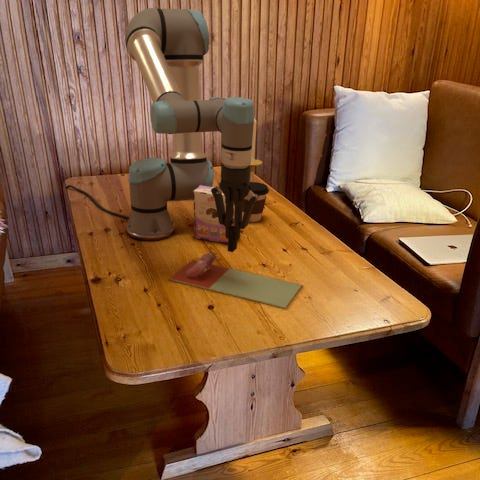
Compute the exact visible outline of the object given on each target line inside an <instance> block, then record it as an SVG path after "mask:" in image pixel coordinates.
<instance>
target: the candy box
mask: <svg viewBox="0 0 480 480" xmlns="http://www.w3.org/2000/svg"><path fill="white" fill-rule="evenodd" d="M214 187H215V186H212V187H209V186H203V185H200V186H199V187H198V188H196V189H195V190H194V191H193V199H192V200H193V201H192V202H193V221H194V238H195V239H199V240H204V241H210V242H215V243H221V244H227V245H228V239H227V238H226V237H225V232H226V228H225V226H224V225H221V224H219V220H218V214H217V209H216V204H215V199H214V196H213V194H212V192H211V189H212V188H214ZM222 196H223V201H224V207H225V212H226V203H225V196H224V194H223V192H222ZM234 212H235V205H234V209H233V223H234ZM232 226H234V224H233V225H232Z"/></svg>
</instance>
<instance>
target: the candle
mask: <svg viewBox="0 0 480 480" xmlns="http://www.w3.org/2000/svg"><path fill="white" fill-rule="evenodd" d="M254 117H255V118H254V125H253V138H252V156H251V164H250V167H251V173H250V182H255V167H258V166H262V165H263V164H264V162H263V160H261V159H256V158H255V157H256V155H255V153H256V139H257V138H256V137H257V136H256V135H257V120H256V115H255V116H254Z"/></svg>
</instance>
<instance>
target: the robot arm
mask: <svg viewBox="0 0 480 480" xmlns="http://www.w3.org/2000/svg"><path fill="white" fill-rule="evenodd" d="M124 44H125V48H126V50H127V52H128V55H129V57H130V58H131V59H132V60H133V61H134V62H136V65H137V68H138V69H139V72H140V75H141V77H142V79H143V82H144V84H145V86H146V88H147V91H148V93H149V96H150V98H151V100H152V103H151V105H150V108H149V117H150V123H151V128H152V130H153V131H154V132H155V133H156V134H158V135H159V134H161V135H162V134H165V135H173V146H174V151H173V153H172V154H171V155H170V156H169V161H170V162H166V159H164V158H161V157H147V158H142V159H139V160H136V161H134V162H133V163H131V164H130V166H129V167H128V184H129V185H128V186H129V198H130V212H129V216H128V215H124V214H121V213H118V212H113V211H111V210H108V209H107V208H105V207H103V206H101V205H100V204H99V202H98V201H96V199H95V198H94V197H93V196H92V195H91V194H90V193H88V192H86V191H84V190H83V189H80V188H77V187H76V186H74V185H72V184H67V185H66V186H65V189H68V188H72V189H74V190H76V191H78V192H80V193H82V194H83V195H85V196H87V197H88V198H89V199H91V201H92V202H93V203H94V204H95V205H96V206H97V207H98V208H99V209H101V210H102V211H104V212H106V213H108V214H111V215H114V216H117V217H120V218H124V219H128V220H127V223H126V234H127V235H128V236H129V237H130V238H131V239H134V240H139V241H149V242H151V241H160V240H161V241H162V240H165V239H167V238H169V237H171V236H172V235H173V234H174V220H172V219H171V216H170V213H169V210H168V201H178V200H179V201H180V199H181V200H183V199H184V200H185V199H186V200H187V199H188V200H192V199H191V198H193V191H194V190H195V189H196V188H198V187H199V186H200V185H203V186H209V187H214V188H212V189H211V192H212V194H213V196H214V199H215V204H216V209H217V214H218V220H219V224H221V225H224V226H225V228H226V232H225V237H226V238H227V239H228V244H227V252H229V253H234V252H235V251H236V250H237V248H238V241H239V240H240V239H241V230H245V228H247V227H248V225H249V223H250V222H249V219H250V216H251V213H252V210H253V207H254V204H255V202H256V200H257V199H258V198H259V195H258V194H254V193H253V192H252V191H251V187H250V173H251V167H250V164H251V156H252V138H253V125H254V118H255V119H256V115H255V103H254V101H253V100H252V99H250V98H246V97H239V96H236V97H235V96H234V97H233V96H231V97H226V98H225V97H220V96H213V97H211V98H209V99H203V100H201V99H200V77H199V76H200V75H199V67H200V66H201V65H202V63H203V62H204V56H205V55H207V54H208V53H209V49H210V44H211V43H210V30H209V26H208V23H207V20H206V19H205V17H204V15H203V14H202V12H200V11H199V10H197V9H188V8H156V7H149V8H144V9H142V10H140V11H139V12H137V13H136V14H135V15H133V17H131V19H130V21H129V22H128V24H127V26H126V30H125V32H124ZM254 116H255V117H254ZM213 132H219V133H221V159H220V160H221V163H222V164H221V166H220V182H219V184H218V185H215V186H214V179H215V178H214V177H215V174H214V166H213V163H212V162H211V161H210V160H209V159H207V154H206V153H204V151H203V149H202V133H213ZM222 192H223V194H224V196H225V203H226V212H225V207H224V201H223V196H222ZM247 195H248V203H247V205H246V209H245V212H244V215H243V217H242V208H243V202H244V198H245V197H246V196H247ZM234 205H235V212H234V223H233V209H234ZM233 224H234V226H232V225H233Z"/></svg>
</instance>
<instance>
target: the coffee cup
mask: <svg viewBox="0 0 480 480" xmlns="http://www.w3.org/2000/svg"><path fill="white" fill-rule="evenodd" d="M250 187H251V191H252V192H253V193H254V194H258V195H259V198H258V199H257V200H256V202H255V204H254V207H253V210H252V213H251V216H250V219H249V223H257V222H260V221H261V219H262V216H263V213H264V208H265V205H266V200H267V194H269V193H270V189H269V187H268V185H267V184H265V183H262V182H259V181H258V182H257V181H254V182H250ZM247 203H248V195H247V196H246V197H245V198H244V202H243V208H242V218H243V215H244V212H245V209H246V205H247Z"/></svg>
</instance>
